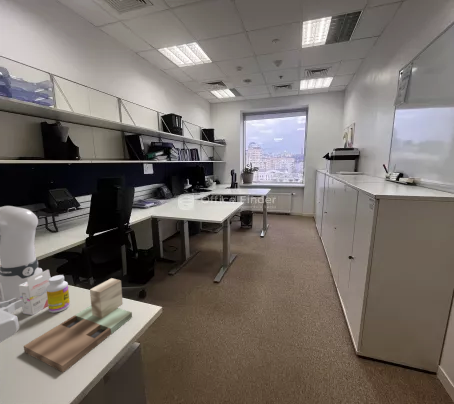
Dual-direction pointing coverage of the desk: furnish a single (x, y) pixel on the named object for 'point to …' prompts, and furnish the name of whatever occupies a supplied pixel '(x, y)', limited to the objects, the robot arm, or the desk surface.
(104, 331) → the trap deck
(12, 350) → the desk surface
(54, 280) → the supplement bottle
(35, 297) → the ink cartridge box
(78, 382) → the desk surface
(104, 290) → the birch block
